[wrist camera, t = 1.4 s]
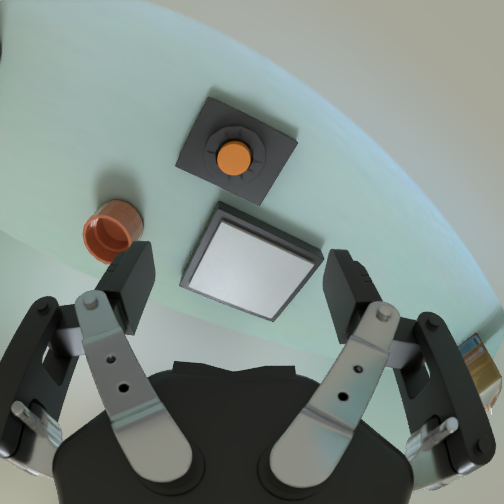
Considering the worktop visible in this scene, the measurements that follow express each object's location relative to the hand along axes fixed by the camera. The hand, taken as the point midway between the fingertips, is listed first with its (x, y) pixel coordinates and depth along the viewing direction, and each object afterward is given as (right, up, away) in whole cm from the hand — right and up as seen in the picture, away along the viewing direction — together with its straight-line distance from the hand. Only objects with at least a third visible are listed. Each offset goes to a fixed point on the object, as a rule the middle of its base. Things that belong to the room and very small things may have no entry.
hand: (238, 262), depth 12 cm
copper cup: (-16, +4, +20) cm, 26 cm away
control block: (-1, +11, +16) cm, 19 cm away
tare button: (-1, +10, +13) cm, 17 cm away
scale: (0, -1, +23) cm, 23 cm away
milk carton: (+53, -25, +39) cm, 70 cm away
